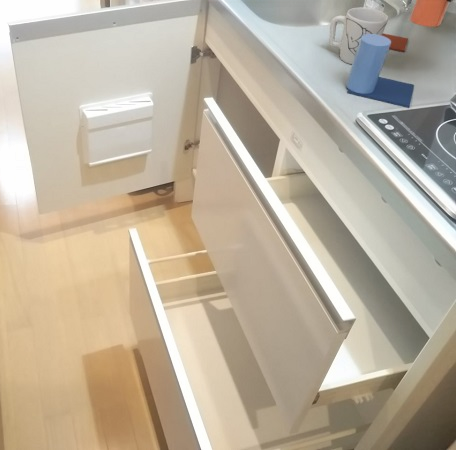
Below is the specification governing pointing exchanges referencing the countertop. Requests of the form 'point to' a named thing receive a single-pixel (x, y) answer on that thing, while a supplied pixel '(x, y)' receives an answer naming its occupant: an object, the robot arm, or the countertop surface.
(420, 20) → the tall orange cylinder
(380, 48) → the light blue cylinder
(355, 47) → the mug
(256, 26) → the countertop surface
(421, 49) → the countertop surface
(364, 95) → the blue mat
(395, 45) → the terracotta mat
